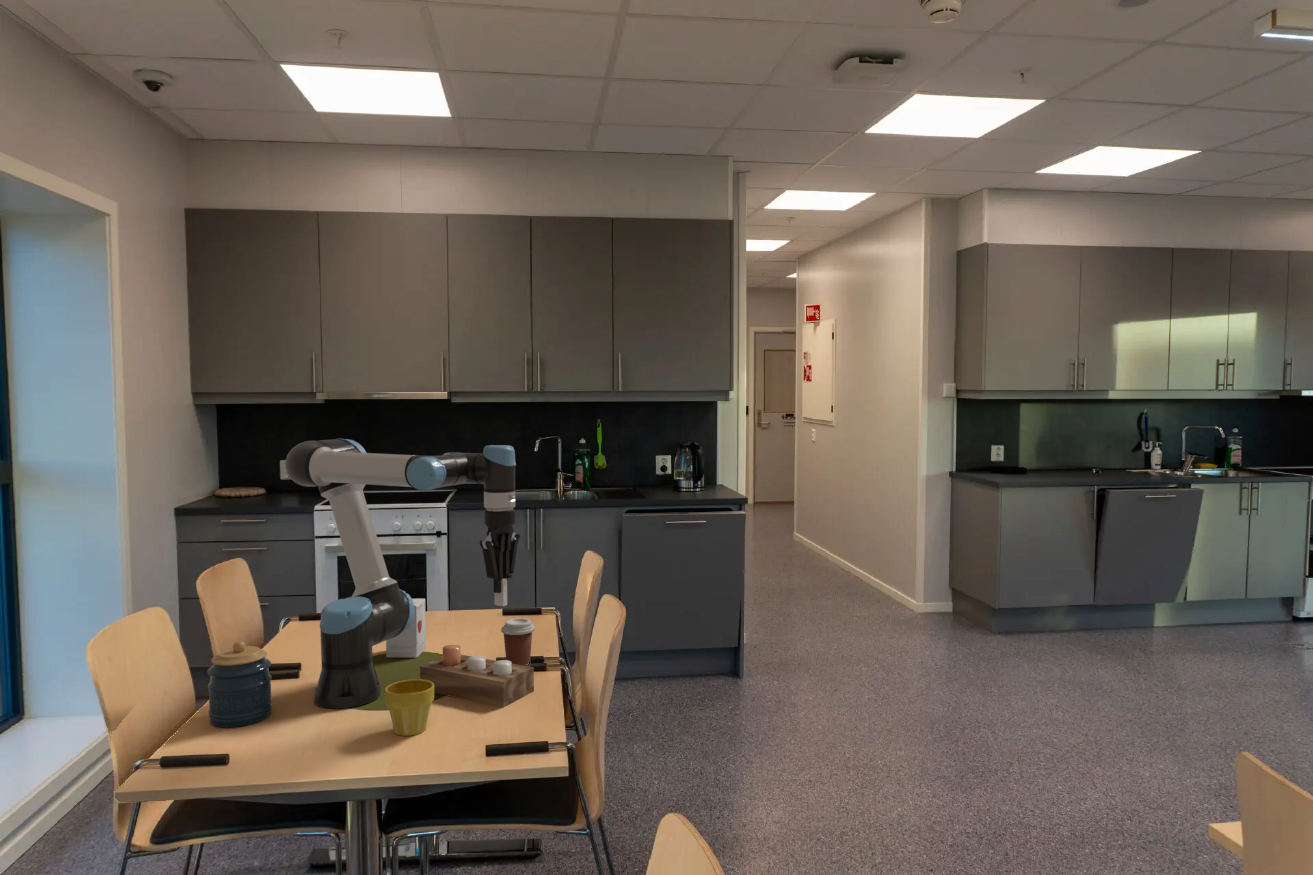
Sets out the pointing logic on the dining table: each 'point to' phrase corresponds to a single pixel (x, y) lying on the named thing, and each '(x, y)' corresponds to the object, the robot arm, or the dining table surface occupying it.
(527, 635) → the coffee cup
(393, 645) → the supplement box
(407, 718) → the plant pot
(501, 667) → the grey plug far
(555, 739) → the dining table surface
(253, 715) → the canister
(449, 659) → the terracotta plug
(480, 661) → the grey plug mid
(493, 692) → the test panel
